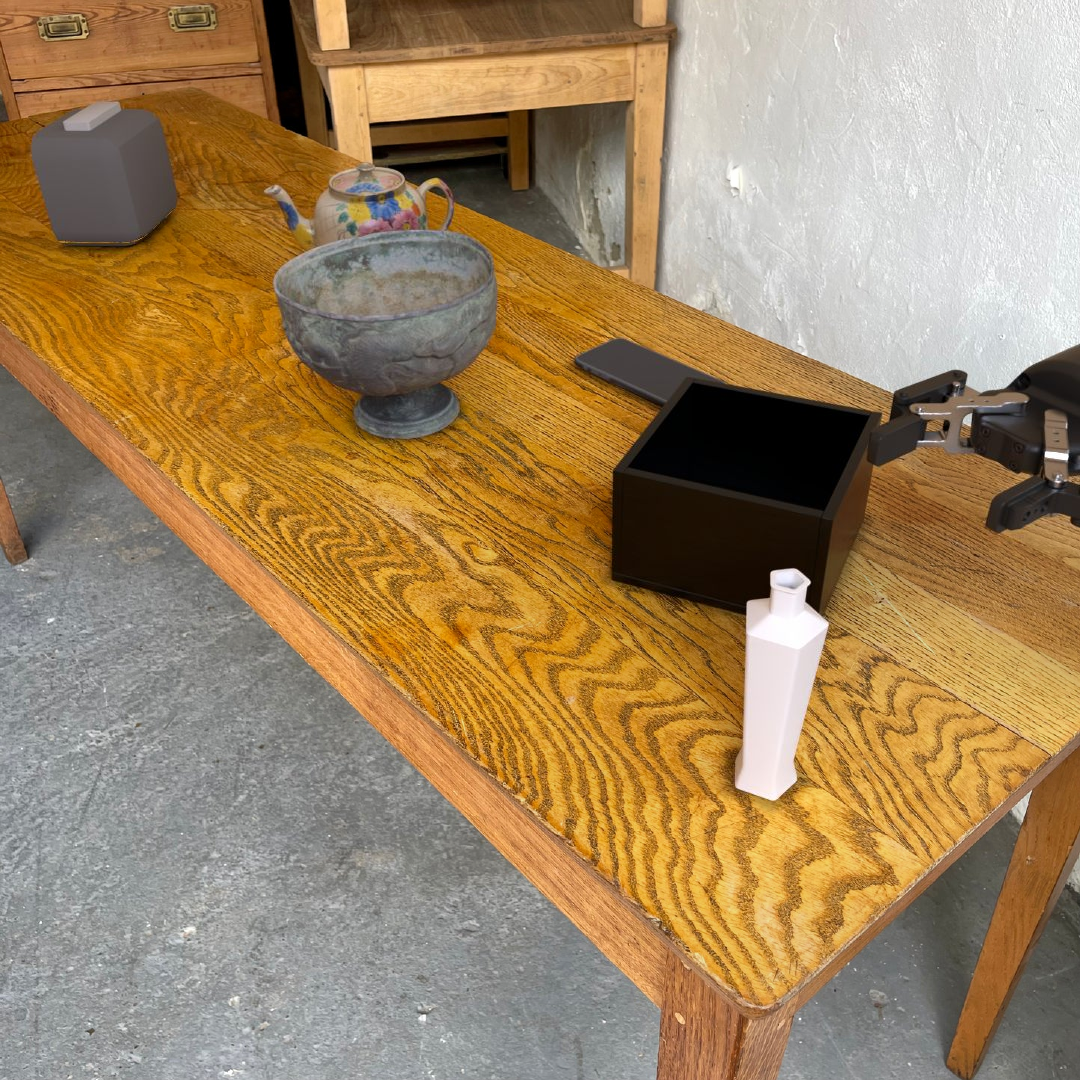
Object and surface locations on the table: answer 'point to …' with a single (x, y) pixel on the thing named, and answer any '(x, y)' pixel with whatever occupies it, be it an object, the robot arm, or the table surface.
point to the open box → (740, 495)
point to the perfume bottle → (777, 683)
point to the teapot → (361, 206)
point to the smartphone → (638, 369)
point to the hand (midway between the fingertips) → (930, 482)
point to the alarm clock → (104, 174)
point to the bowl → (391, 322)
